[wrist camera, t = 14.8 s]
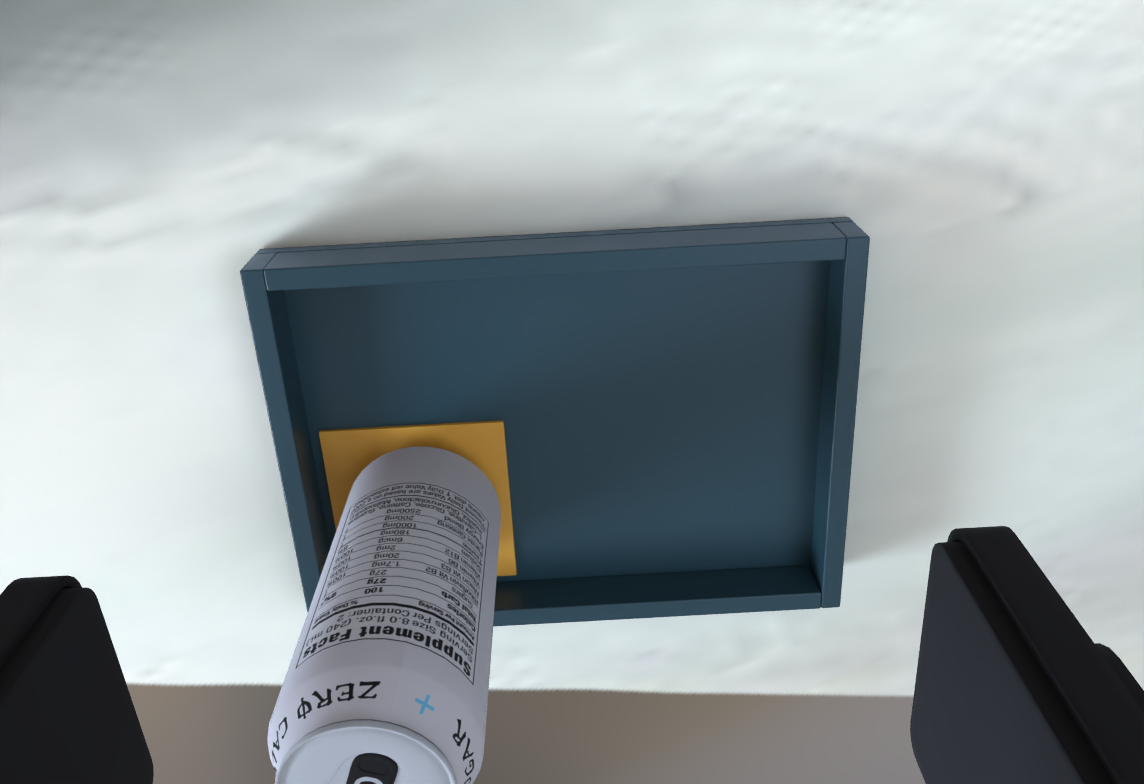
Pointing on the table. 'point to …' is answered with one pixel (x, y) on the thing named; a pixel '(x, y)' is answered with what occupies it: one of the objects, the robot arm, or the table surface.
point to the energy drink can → (397, 632)
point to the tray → (594, 400)
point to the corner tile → (468, 439)
